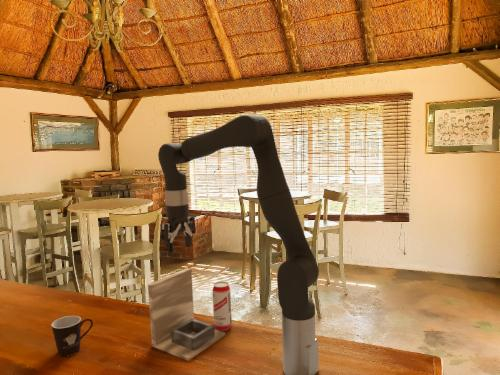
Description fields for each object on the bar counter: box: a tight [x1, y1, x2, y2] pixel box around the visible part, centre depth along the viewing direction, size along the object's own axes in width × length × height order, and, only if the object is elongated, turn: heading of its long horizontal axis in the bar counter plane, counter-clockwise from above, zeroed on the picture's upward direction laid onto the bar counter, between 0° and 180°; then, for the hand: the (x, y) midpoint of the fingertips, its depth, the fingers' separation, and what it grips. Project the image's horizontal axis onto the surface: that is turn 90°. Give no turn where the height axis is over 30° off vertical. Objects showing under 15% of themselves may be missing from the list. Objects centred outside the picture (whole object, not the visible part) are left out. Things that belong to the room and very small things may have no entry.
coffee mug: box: [50, 315, 94, 357], centre depth 126 cm, size 12×9×10 cm
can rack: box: [147, 267, 226, 362], centre depth 129 cm, size 16×18×21 cm
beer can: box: [212, 281, 233, 332], centre depth 138 cm, size 6×6×16 cm
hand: (179, 250), depth 133 cm, fingers open, 8 cm apart
